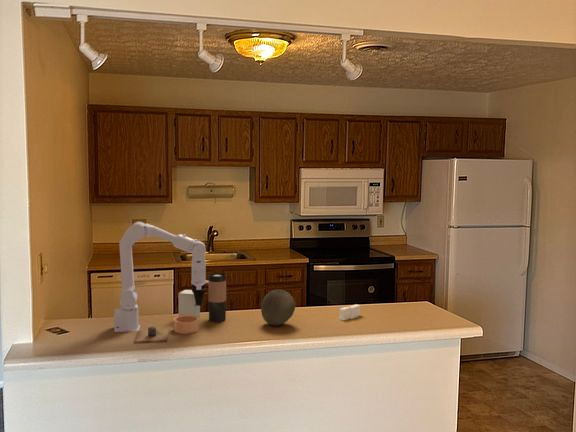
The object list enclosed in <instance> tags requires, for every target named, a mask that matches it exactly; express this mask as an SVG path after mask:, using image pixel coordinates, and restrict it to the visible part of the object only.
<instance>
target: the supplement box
mask: <svg viewBox="0 0 576 432" xmlns="http://www.w3.org/2000/svg"><path fill="white" fill-rule="evenodd" d="M177 296H178V299H177V300H178V316H184V315H192V316H197V317H199V319H201V306H196V302H195V297H194V294H193V292H192V289H184V290H182V291H180V292H179V293H178V295H177Z"/></svg>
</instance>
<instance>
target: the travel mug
mask: <svg viewBox="0 0 576 432" xmlns="http://www.w3.org/2000/svg"><path fill="white" fill-rule="evenodd" d="M208 281H209V283H208V319H209V322H214V323H222V322H225V320H226V316H227V315H226V314H227V273H224V272H213V273H212V272H211V273H209V274H208Z"/></svg>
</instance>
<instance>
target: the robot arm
mask: <svg viewBox="0 0 576 432" xmlns="http://www.w3.org/2000/svg"><path fill="white" fill-rule="evenodd" d="M144 237H146V238H150V237H156V238H159V239H161V240H164V241H167V242H170V243H172V244H173V247H174V248H176V249H179V250H181V251H185V252H186V253H191V258H192V259H191V281H190V282H191V283H190V284H191V286H192V288H191V290H192V292H193V294H194V297H195V302H196V306H200V307H202V305H203V299H204V295H205V293H206V291H207V289H206V287H205V286H206V284H209V280H206V279H207V278H206V273H207V272H206V271H207V270H206V267H207V263H206V261H207V260H206V252H207V249H206V245H205V243H204V242H202V241H201V240H197V238H194V239H193V238H192V237H189V236H187V234H185V233H182V234H181V233H179V234H173V233H170V232H169V231H167V230H164V229H162V228H160V227H157V226H155V225H152V224H151V223H145V222H143V221H136V222H134V223H133V224H131V225H130V226H129V227H128V228H127V229H126V230H125V232H124V234H123V236H122V237H121V239H120V240H119V243H118V244H119V257H120V258H119V262H120V275H121V291H120V292H121V297H120V298H119V308H118V307H117V308H115V309H114V312H113V322H114V323H113V325H114V326H113V327H114V328H113V329H114V333H119V332H121V333H122V332H125V333H126V332H138V331H140V328H141V324H139V305H138V304H137V302H138V300H139V295H138V292H137V291H136V286H135V285H136V284H135V277H134V261H133V245H134V244H135V243H136V242H137V241H140V240H141V239H143V238H144Z"/></svg>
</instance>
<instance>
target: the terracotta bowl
mask: <svg viewBox="0 0 576 432" xmlns="http://www.w3.org/2000/svg"><path fill="white" fill-rule="evenodd" d="M173 331H174V333H177V334H182V335H185V334H186V335H187V334H188V335H189V334H194V333H196V332H198V331H200V318H199V317H197V316H192V315H184V316H179V315H177V316H176V317H174V318H173Z"/></svg>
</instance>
